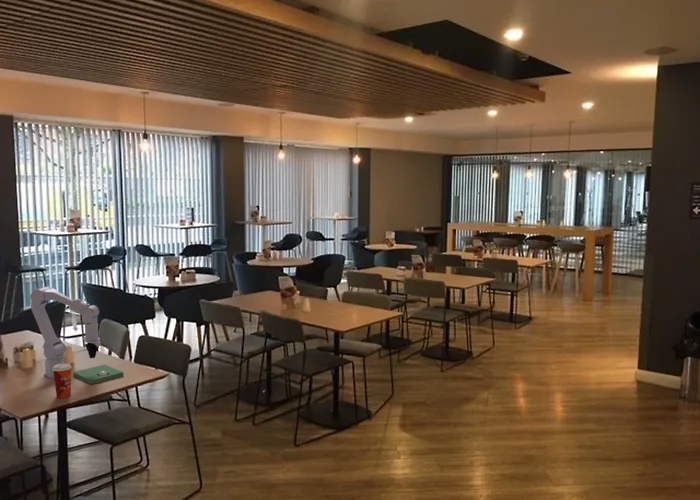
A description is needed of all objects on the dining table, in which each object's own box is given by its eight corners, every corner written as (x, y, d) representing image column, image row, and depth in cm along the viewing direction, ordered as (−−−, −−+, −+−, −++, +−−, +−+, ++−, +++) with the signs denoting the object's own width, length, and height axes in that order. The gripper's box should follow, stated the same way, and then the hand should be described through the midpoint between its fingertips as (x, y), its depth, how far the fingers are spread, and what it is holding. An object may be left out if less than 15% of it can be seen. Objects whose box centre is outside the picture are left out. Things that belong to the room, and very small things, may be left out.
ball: (102, 379, 280) (99, 379, 282) (109, 376, 282) (106, 377, 285) (100, 372, 280) (97, 372, 282) (107, 369, 282) (104, 370, 285)
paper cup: (65, 399, 254) (63, 368, 253) (50, 398, 256) (48, 367, 254) (77, 393, 262) (75, 363, 260) (62, 392, 263) (60, 362, 262)
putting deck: (73, 375, 286) (73, 372, 286) (105, 368, 298) (104, 364, 298) (91, 384, 274) (91, 380, 273) (123, 376, 286) (123, 372, 285)
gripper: (106, 331, 282) (107, 358, 283) (92, 326, 291) (93, 353, 293) (92, 334, 276) (93, 362, 278) (78, 329, 286) (79, 356, 287)
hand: (92, 357), depth 285 cm, fingers closed
